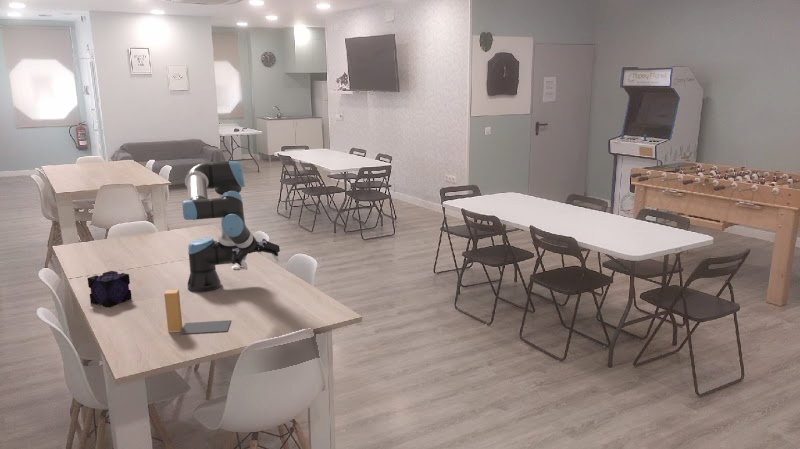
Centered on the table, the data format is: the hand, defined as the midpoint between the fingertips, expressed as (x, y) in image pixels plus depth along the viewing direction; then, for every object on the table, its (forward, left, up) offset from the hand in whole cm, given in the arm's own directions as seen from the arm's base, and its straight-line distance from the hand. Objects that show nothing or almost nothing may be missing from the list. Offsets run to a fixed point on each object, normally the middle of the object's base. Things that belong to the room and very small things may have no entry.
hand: (261, 262), depth 255 cm
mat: (-15, -23, -21) cm, 35 cm away
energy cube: (-73, -3, -21) cm, 76 cm away
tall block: (-26, -27, -21) cm, 43 cm away
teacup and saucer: (-43, +55, -22) cm, 73 cm away
